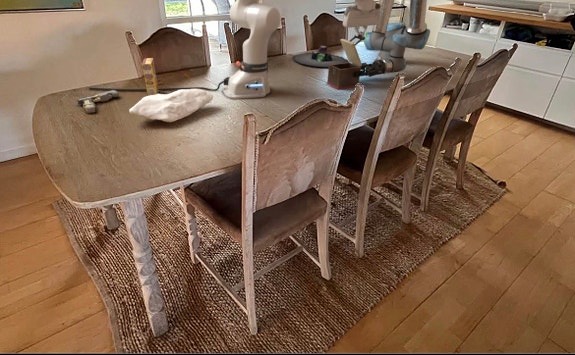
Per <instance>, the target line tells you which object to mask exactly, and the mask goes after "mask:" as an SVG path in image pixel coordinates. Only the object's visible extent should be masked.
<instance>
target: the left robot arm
mask: <svg viewBox="0 0 575 355" xmlns="http://www.w3.org/2000/svg"><path fill="white" fill-rule="evenodd" d="M381 6H382V5H381V4H379V2H377V1H375V0H354V4H353V5H348V6H347V7H346V8H345V10H344V15H343V20H342V26H343V27H344V28H347V29H350V28H353V29H354V31H355V34H356V36H360V35H361V36H364V37H365V35H366V31H367V29H368V27H369V26H373V25H378V24H379V22H380V17H381V11H380V9H381ZM229 18H230V20H231V22H232V23H233V24H235V25H236V26H238V27H240V28H243V29H247V30H248V29H249V30H250V34H249V38H247V39H246V40H245V41H244V42H243V43H242V59H243V60H242V61H236V62H235V65H236V66H237V67H239V69H237V71H236V72H235V73H234V74H232V75H231V76H227V77H225V78H224V79H223V80H222V81H220V82H219V83H218V84H217V87H216V88H214V89H212V88H207V87H204V86H193V87H192V86H190V87H188V86H187V87H166V88H162V87H161V88H158V90H159V91H177V90H181V89H202V90H204V91H212V92H216V91H218V90H219V89H220V86H221V85H222V84H223V86H226V87H224V88H223V91H222V92H223V94H224V95H225V96H226V97H228V98H230V99H233V100H236V99H237V100H238V99H239V100H240V99H253V98H254V99H255V98H264V97H266V95H268V94H269V93H270V92H271V88H270V84H269V78H268V76H269V75H268V72H269V61H268V47H269V46H268V45H269V41H270V38H271V36H272V35H273V33H275V31H277V30H278V29H279V27H280V24H281V19H282V18H281V13H280V11H279V9H278V8H276V7H274V6H272V5H270V4H267V3H261V2H260V0H235V1H234V2H233V3H232V4H231V6H230V8H229ZM360 27H362V28H361V30H360V31H359V29H360ZM88 89H89V90H96V91H112V90H115V91H117V92H119V91H120V92H147V88H111V87H109V88H108V87H107V88H106V87H92V86H91V87H90V86H89V87H88Z"/></svg>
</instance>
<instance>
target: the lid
mask: <svg viewBox="0 0 575 355" xmlns="http://www.w3.org/2000/svg"><path fill="white" fill-rule="evenodd" d="M365 37H366V36H365V35H364V36H361V35H360V36H356V33H355V34H354V36H353V37H352V38H351V39H349V40H347V39H345V38H341V39H339V41H340V43H341V45H342V48H343V50H344V54H345V56H346V59H347V60H348V62H350V63H353V64H355V65H358V66H362V63H363V62H362V61H361V58H360V55H359V53H358V50H357V47H356V46H357V45H359V43H360V42H362V41H364V40H365ZM355 39H358V40H357V41H356V42H353V41H354V40H355Z"/></svg>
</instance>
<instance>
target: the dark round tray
mask: <svg viewBox="0 0 575 355" xmlns="http://www.w3.org/2000/svg"><path fill="white" fill-rule="evenodd" d="M327 51H328V46H325V45H320V46H319V48H318V50H317V51H314V50H313V51H312V52H304V53H298V54H295V55H293V56H292V58H291V59H292V60H293V61H294V62H296V63H298V64H301V65H306V66H312V67H317V68H318V67H319V68H321V67H322V68H329V65H332V64H340V63H348V62H349V61H348V59H347V58H345V57H343V56H340V55H335V54H331V53H329V52H327Z"/></svg>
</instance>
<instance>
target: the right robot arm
mask: <svg viewBox="0 0 575 355" xmlns="http://www.w3.org/2000/svg"><path fill="white" fill-rule="evenodd" d="M394 2H395V0H379V1H378V3H379V4H381V5H382V6H381V9H380V11H381V17H380V22H379V24H378V25H372V30H371V32H372V33H371V34H368V35H367V36H366V35H365V37H366V39H364V40H365V44H364V47H365V48H366V49H367V48H368V49H367V50H372V51H374V50H375V51H379V52H378V54H377V56H376V59H375V60H374V61H373V62H372V63H368V62H365V61H364V62H361V63H362V66H359V67H361V71H355V72H354V77H364V76H365V77H368V78H372V77H374V76H379V75H386V74H393V73H399V72H403V71H404V70H405V69H406V68H407V59H406V58H405V57H404V56H405V51H406V48H407V49H412V50H419V51H420V50H423V49H425V47H426V45H427V44H428V43H427V42H428V40H429V38H430V36H431V35H430V34H431V29H430V28H428V24H427V23H426V14H427V3H428V0H409V13H408V14H409V15H408V16H409V18H408V23H407V24H406V23H405V22H390V18H391V14H392V10H393V6H394ZM389 22H390V23H389ZM352 64H353V63H352ZM357 66H358V65H357Z"/></svg>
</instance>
